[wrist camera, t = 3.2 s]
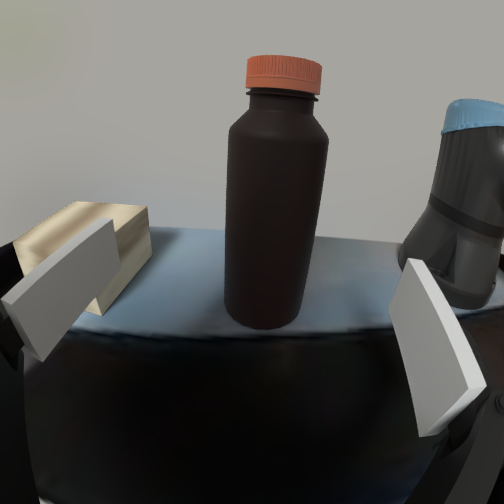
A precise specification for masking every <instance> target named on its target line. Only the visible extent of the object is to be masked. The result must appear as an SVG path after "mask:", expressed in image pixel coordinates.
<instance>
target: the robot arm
mask: <svg viewBox="0 0 504 504" xmlns="http://www.w3.org/2000/svg"><path fill="white" fill-rule="evenodd" d="M441 135H442V139H441V145H440V151H439V156H438V161H437V166H436V171H435V177H434V180H433V185H432V189H431V193H430V197H429V201H428V205H427V207H426V209H425V211H424V212H423V214H422V215H421V217H420V218H419V220H418V221H417V223H416V224H415V226H414V227H413V229H412V230H411V232H410V233H409V235H408V236H407V238H406V239H405V241H404V242H403V245H402V248H401V251H400V254H399V264H400V266H401V268H402V270H403V273H402V275H401V278H400V281H399V283H398V286H397V288H396V291H395V293H394V296H393V298H392V300H391V303H390V305H389V307H388V310H389V314H390V317H391V320H392V323H393V326H394V330H395V333H396V336H397V340H398V343H399V347H400V351H401V354H402V358H403V362H404V366H405V370H406V374H407V378H408V382H409V386H410V391H411V395H412V400H413V405H414V410H415V415H416V420H417V426H418V432H419V437H423V436H431V435H437V434H438V433H440V432H441V431H442V430H443V429H444V428H445V427H446V426H448V430H449V433H448V434H447V435H446V436H445V437H444V438H442V439H441V440H440V441H439V442H437V443H436V444H435V445H434V446H433V447H432V449H433V450H434V449H436V448H437V447H438V446H439V445H440V447H439V449H438V451H437V452H436V454H435V456H434V458H433V460H432V461H431V463H430V465H429V467H428V468H427V470H426V472H425V473H424V475H423V476H422V478H421V480H420V481H419V483H418V484H417V486H416V487H415V489H414V490H413V492H412V493H411V495H410V496H409V497H408V499H407V500H406V502H405V503H404V504H504V390H501V389H496V388H495V385H494V383H493V380H492V378H491V375H490V373H489V371H488V368H487V366H486V364H485V361H484V359H483V358H482V355H481V353H480V351H479V349H478V346H477V344H476V342H475V340H474V338H473V336H472V335H471V334H470V333H469V332H468V331H467V330H466V328H465V327H460V325H459V323H458V321H457V319H456V317H455V315H454V313H453V311H452V309H451V307H450V306H449V305H451V306H454V307H458V308H462V309H479V308H482V307H484V306H485V305H486V304H487V303H488V301H489V299H490V297H491V295H492V293H493V292H494V289H495V286H496V274H497V270H498V266H499V260H500V254H501V246H502V241H503V239H504V105H502V104H499V103H495V102H491V101H485V100H478V99H459V100H455V101H453V102H452V103H450V105H449V106H448V108H447V112H446V117H445V122H444V127H443V130H442V131H441ZM120 270H121V264H120V259H119V253H118V248H117V242H116V236H115V229H114V223H113V219H112V218H102V217H100V218H99V219H98V220H96V221H95V222H93V223H92V224H91V225H89V226H88V227H86V228H85V229H84V230H82V231H81V232H80V233H78V234H77V235H76V236H74V237H73V238H72V239H70V240H69V241H68V242H66V243H65V244H64V245H63V246H61V247H60V248H59V249H57V250H56V251H55V252H54V253H52V254H51V255H50V256H49V257H48V258H46V259H45V260H44V261H43V262H41V263H40V264H39V265H38V266H37V267H36V268H34V269H33V270H32V271H31V272H30V273H28V274H27V275H26V276H25V277H24V278H23V279H22V280H21V281H20V282H18V283H17V284H16V285H15V286H14V287H13V288H12V289H11V290H10V291H9V292H7V293H6V294H5V295H4V296H3V297H2V298H1V299H0V504H40V501H39V497H38V493H37V489H36V485H35V481H34V477H33V472H32V467H31V461H30V456H29V449H28V442H27V434H26V424H25V412H24V386H23V374H24V354H23V351H22V350H21V348H22V347H23V346H24V345H25V346H26V348H27V350H28V351H29V353H30V355H31V356H33V357H35V358H36V359H38V360H40V361H42V362H43V361H44V360H45V359H46V357H47V356H48V355H49V353H50V352H51V351H52V349H53V348H54V347H55V346H56V344H57V343H58V342H59V340H60V339H61V338H62V337H63V335H64V334H65V333H66V332H67V331H68V329H69V328H70V327H71V326H72V324H73V323H74V322H75V321H76V320H77V318H78V317H79V316H80V315H81V314H82V312H83V311H84V310H85V309H86V308H87V307H88V305H89V304H90V303H91V302H92V301H93V300H94V299H95V297H96V296H97V295H98V294H99V293H100V292H101V291H102V289H103V288H104V287H105V286H106V285H107V284H108V283H109V282H110V281H111V280H112V278H113V277H114V276H115V275H116V274H117V273H118V272H119V271H120Z"/></svg>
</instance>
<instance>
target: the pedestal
mask: <svg viewBox="0 0 504 504" xmlns="http://www.w3.org/2000/svg"><path fill="white" fill-rule="evenodd" d="M100 217H102V218H112V219H113V223H114V229H115V236H116V242H117V248H118V253H119V259H120V264H121V270H120V271H119V272H118V273H117V274H116V275H115V276H114V277H113V278H112V280H111V281H110V282H109V283H108V284H107V285H106V286H105V287H104V288H103V289H102V291H101V292H100V293H99V294H98V295H97V296H96V297H95V299H94V300H93V301H92V302H91V303H90V304H89V305H88V307H87V308H86V309H85V310H84V311H87V312H90V313H94V314H97V315H100V316H103V314H104V313H105V312H106V310H107V309H108V308H109V307H110V305H111V304H112V303H113V302H114V300H115V299H116V298H117V297H118V295H119V294H120V293H121V292H122V290H123V289H124V288H125V287H126V286H127V284H128V283H129V282H130V281H131V280H132V278H133V277H134V276H135V275H136V274H137V272H138V271H139V270H140V269H141V268H142V266H143V265H144V264H145V263H146V262H147V261H148V259H149V258H150V257H151V256H152V247H151V239H150V230H149V220H148V209H147V206H137V205H124V204H123V205H122V204H110V203H95V202H77V201H75V202H73V203H71V204H70V205H68V206H66V207H65V208H63V209H61V210H60V211H58V212H57V213H55V214H53V215H52V216H50V217H49V218H47V219H46V220H44V221H43V222H41V223H40V224H38V225H37V226H35V227H34V228H32V229H31V230H29V231H28V232H26V233H25V234H24V235H22V236H21V237H19V238H18V239H16V240H15V241H14V242H13V244H14V248H15V251H16V254H17V257H18V260H19V263H20V266H21V269H22V271H23V274H24V277H25V276H26V275H27V274H28V273H30V272H31V271H32V270H33V269H34V268H36V267H37V266H38V265H39V264H40V263H41V262H43V261H44V260H45V259H46V258H48V257H49V256H50V255H51V254H52V253H54V252H55V251H56V250H57V249H59V248H60V247H61V246H63V245H64V244H65V243H66V242H68V241H69V240H70V239H72V238H73V237H74V236H76V235H77V234H78V233H80V232H81V231H82V230H84V229H85V228H86V227H88V226H89V225H91V224H92V223H93V222H95V221H96V220H98V219H99V218H100Z"/></svg>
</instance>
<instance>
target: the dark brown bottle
mask: <svg viewBox="0 0 504 504" xmlns="http://www.w3.org/2000/svg"><path fill="white" fill-rule="evenodd" d="M321 72H322V66H321V65H320V64H319V63H316V62H314V61H311V60H307V59H303V58H298V57H291V56H282V55H261V56H254V57H251V58H249V59H248V60H247V75H246V78H247V79H246V88H249V89H251V90H250V91H249V92H246V95H250V106H249V110H248V111H247V112H245V114H243V115H242V116H241V117H240V118H239V119H238V120H237V121H236V122H235V123H234V124H233V125H232V126H231V128H230V130H229V138H228V161H227V162H228V163H227V188H226V227H225V287H224V302H225V306H226V309H227V312H228V313H229V314H230V315H231V317H232V318H233V319H234V320H236V321H237V322H239V323H241V324H242V325H245V326H248V327H251V328H254V329H265V330H269V329H275V328H280V327H283V326H285V325H287V324H289V323H291V322H292V321H293V320H294V319H295V318H296V317H297V315H298V312H299V310H300V306H301V302H302V297H303V293H304V288H305V283H306V278H307V273H308V268H309V263H310V258H311V252H312V247H313V242H314V236H315V230H316V225H317V218H318V213H319V207H320V200H321V194H322V187H323V181H324V174H325V167H326V160H327V152H328V144H329V139H328V136H327V134H326V133H325V131H324V130H323V128H322V127H321V125H320V124H319V123H318V121H317V120H316V119H315V117H314V116H313V107H314V101H318V99H317V98H315V95H320V85H321V84H320V83H321Z"/></svg>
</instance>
